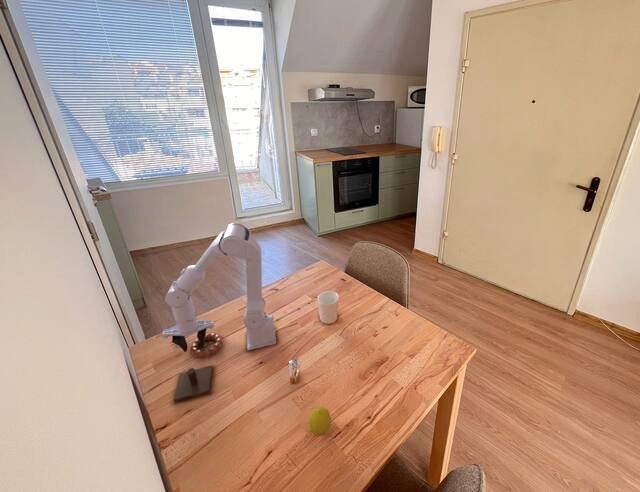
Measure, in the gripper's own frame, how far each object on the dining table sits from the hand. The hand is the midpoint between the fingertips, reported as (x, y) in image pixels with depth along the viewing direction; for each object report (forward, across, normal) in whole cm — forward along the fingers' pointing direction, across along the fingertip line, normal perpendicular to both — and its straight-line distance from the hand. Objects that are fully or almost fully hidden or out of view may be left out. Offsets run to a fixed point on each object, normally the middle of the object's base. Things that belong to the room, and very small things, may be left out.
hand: (194, 347), depth 99 cm
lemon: (+1, -35, +39) cm, 52 cm away
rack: (+1, -2, +14) cm, 14 cm away
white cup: (+1, -47, -1) cm, 47 cm away
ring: (+1, -31, +22) cm, 38 cm away
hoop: (0, -4, 0) cm, 4 cm away
